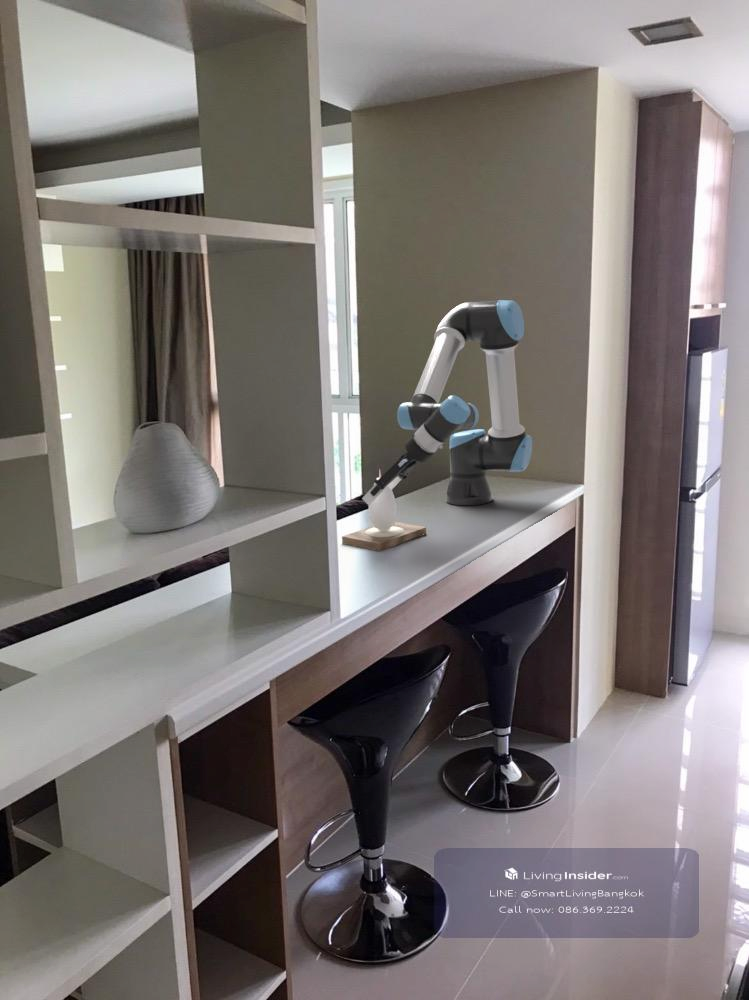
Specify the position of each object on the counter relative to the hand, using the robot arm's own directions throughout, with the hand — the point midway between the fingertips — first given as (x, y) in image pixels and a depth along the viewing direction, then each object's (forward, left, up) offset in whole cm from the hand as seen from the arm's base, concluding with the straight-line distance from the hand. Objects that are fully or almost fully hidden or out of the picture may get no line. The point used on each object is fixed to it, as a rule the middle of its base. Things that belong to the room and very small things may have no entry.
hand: (375, 496), depth 233 cm
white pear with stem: (-1, +2, -10) cm, 10 cm away
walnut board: (-1, +2, -12) cm, 12 cm away
